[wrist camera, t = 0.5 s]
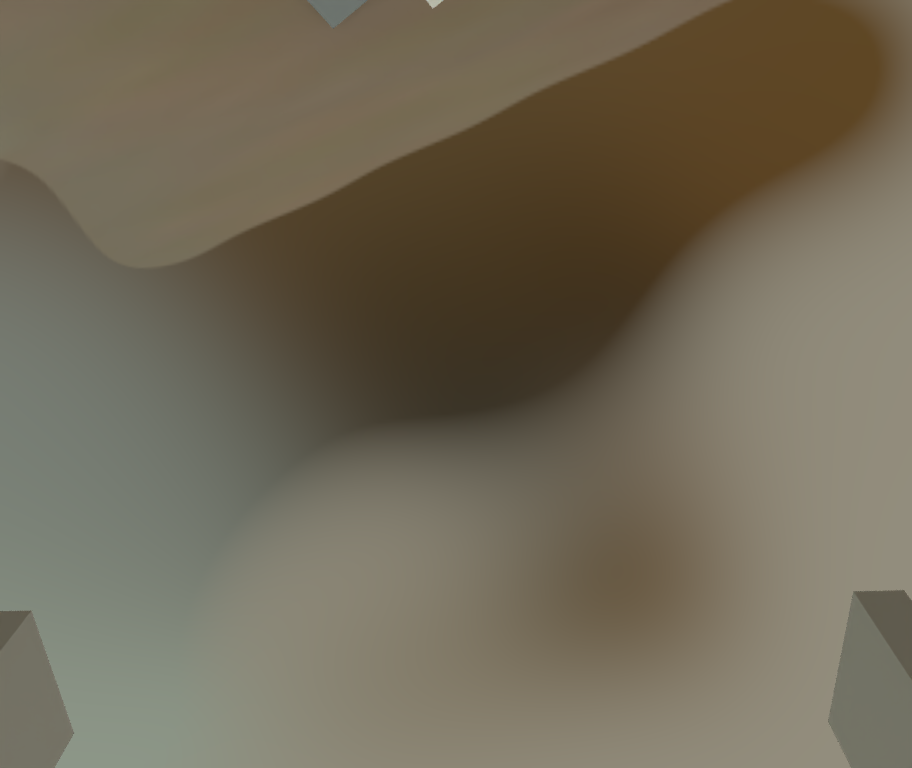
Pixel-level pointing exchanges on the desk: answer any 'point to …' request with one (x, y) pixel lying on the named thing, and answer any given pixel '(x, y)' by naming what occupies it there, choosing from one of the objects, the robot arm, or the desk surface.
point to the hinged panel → (434, 2)
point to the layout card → (335, 9)
